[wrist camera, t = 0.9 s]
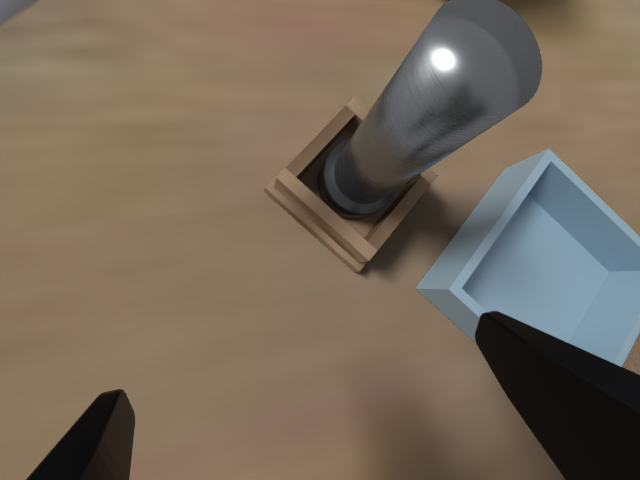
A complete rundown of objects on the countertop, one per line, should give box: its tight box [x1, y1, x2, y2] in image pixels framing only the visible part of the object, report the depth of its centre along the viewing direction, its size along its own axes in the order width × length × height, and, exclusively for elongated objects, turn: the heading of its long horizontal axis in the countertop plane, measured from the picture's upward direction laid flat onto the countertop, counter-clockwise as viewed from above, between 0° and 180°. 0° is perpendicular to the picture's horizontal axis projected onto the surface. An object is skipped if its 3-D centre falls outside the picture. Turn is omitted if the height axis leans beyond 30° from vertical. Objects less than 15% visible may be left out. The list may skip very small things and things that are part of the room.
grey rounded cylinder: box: [317, 0, 542, 220], centre depth 16 cm, size 5×5×13 cm
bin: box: [415, 149, 640, 367], centre depth 23 cm, size 12×12×4 cm
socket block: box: [264, 97, 438, 272], centre depth 21 cm, size 8×8×3 cm
